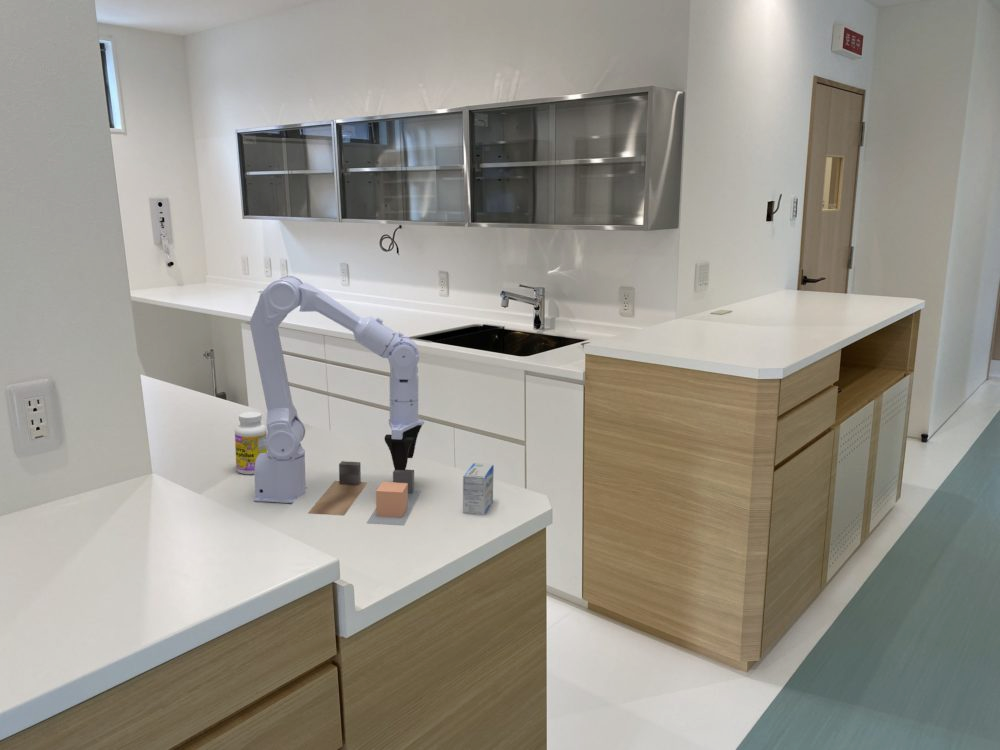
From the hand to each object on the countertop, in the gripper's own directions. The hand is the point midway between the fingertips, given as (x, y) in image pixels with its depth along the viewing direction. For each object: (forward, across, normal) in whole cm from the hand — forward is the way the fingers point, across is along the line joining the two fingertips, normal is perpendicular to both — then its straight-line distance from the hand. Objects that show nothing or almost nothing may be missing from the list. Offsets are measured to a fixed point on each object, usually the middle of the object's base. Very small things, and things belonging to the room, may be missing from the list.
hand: (404, 463), depth 154 cm
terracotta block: (+6, -11, 0) cm, 13 cm away
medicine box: (+7, -6, -16) cm, 18 cm away
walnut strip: (+7, -4, +12) cm, 14 cm away
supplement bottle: (+7, +10, +36) cm, 38 cm away
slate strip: (+7, -7, 0) cm, 10 cm away
